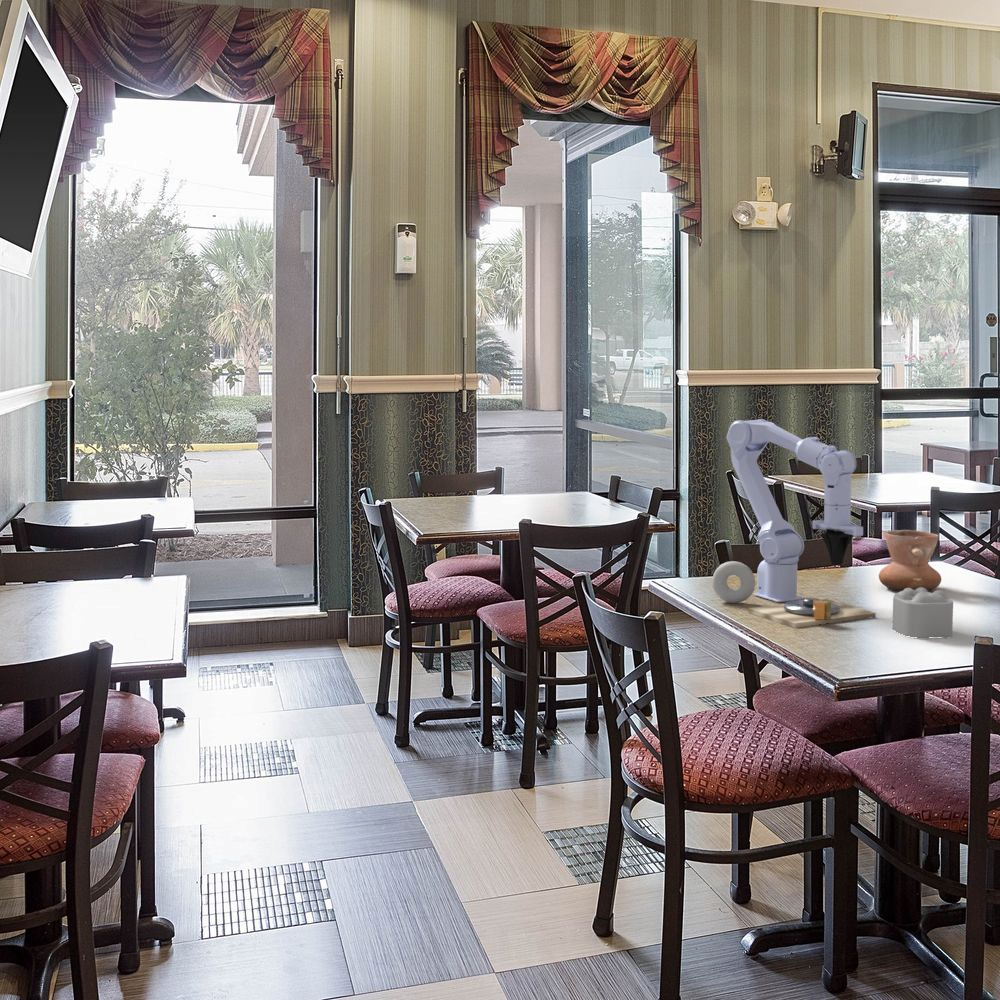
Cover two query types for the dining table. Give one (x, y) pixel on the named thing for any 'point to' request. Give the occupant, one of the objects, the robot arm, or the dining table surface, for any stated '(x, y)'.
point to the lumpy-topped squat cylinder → (922, 613)
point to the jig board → (800, 620)
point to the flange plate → (810, 607)
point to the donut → (742, 573)
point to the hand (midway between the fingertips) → (836, 563)
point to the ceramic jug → (910, 561)
